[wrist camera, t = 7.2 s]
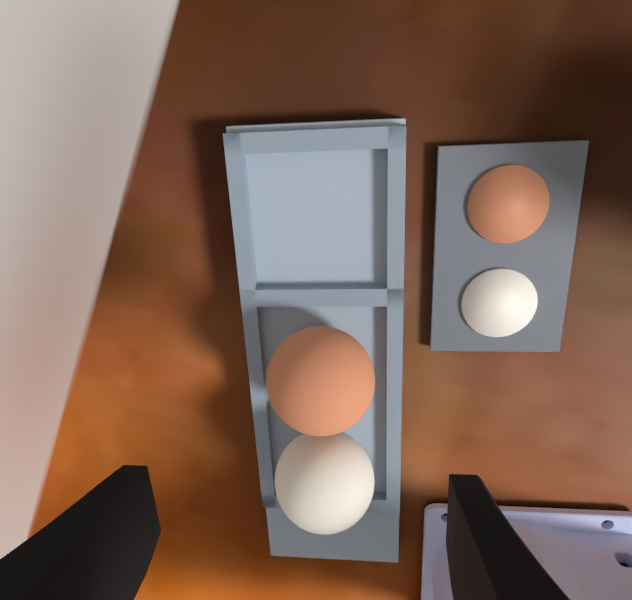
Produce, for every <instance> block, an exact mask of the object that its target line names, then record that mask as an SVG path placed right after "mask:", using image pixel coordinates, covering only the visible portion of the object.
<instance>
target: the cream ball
mask: <svg viewBox="0 0 632 600" xmlns="http://www.w3.org/2000/svg"><path fill="white" fill-rule="evenodd" d="M374 483H375V481H374V471H373V467H372V464H371V461H370V459H369V457H368V455H367V453H366V452H365V450H364V449H363V447H362V446H361V445H360V444H359V443H358V442H357V441H356V440H355V439H353V438H352V437H351V436H349V435H347V434H345V433H343V432H341V433H338V434H334V435H330V436H311V435H307V434H302V435H300V436H298V437H297V438H295V439H294V440H293V441H292V442H291V443H290V444H289V445H288V446H287V447H286V448H285V450H284V451H283V453H282V455H281V457H280V458H279V461H278V464H277V467H276V472H275V490H276V495H277V499H278V502H279V504H280V506H281V508H282V510H283V511H284V513H285V514H286V516H287V517H288V518H289V519H290V520H291V521H292V522H293V523H294V524H296V525H297V526H298V527H300V528H302V529H303V530H306V531H308V532H311V533H315V534H322V535H328V534H335V533H338V532H341V531H344V530H346V529H348V528H350V527H351V526H353V525H354V524H355V523H356V522H358V521H359V520H360V518H361V517H362V516H363V515H364V514H365V512H366V511H367V509H368V507H369V505H370V503H371V500H372V497H373V493H374Z"/></svg>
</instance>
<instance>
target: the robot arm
mask: <svg viewBox="0 0 632 600" xmlns="http://www.w3.org/2000/svg"><path fill="white" fill-rule="evenodd" d="M445 513H447V516H444V515H443V514H445ZM606 520H609V521H607V522H604V521H606ZM602 522H604V523H602ZM160 532H161V528H160V523H159V519H158V514H157V510H156V505H155V500H154V496H153V491H152V486H151V482H150V477H149V472H148V468H147V466H131V465H123V466H122V467H121V468H119V469H118V470H116V471H115V472H114V473H112V474H111V475H110V476H109V477H107V478H106V479H105V480H104V481H102V482H101V483H100V484H99V485H97V486H96V487H95V488H94V489H92V490H91V491H90V492H89V493H87V494H86V495H85V496H84V497H82V498H81V499H80V500H79V501H77V502H76V503H75V504H73V505H72V506H71V507H70V508H68V509H67V510H66V511H65V512H63V513H62V514H61V515H59V516H58V517H57V518H56V519H54V520H53V521H52V522H51V523H49V524H48V525H47V526H45V527H44V528H43V529H41V530H40V531H39V532H37V533H36V534H34V535H33V536H32V537H30V538H29V539H28V540H26V541H25V542H24V543H22V544H21V545H20V546H18V547H17V548H16V549H14V550H13V551H11V552H10V553H9V554H7V555H6V556H5V557H3V558H2V559H0V600H134V598H135V596H136V594H137V592H138V590H139V588H140V585H141V583H142V581H143V579H144V577H145V575H146V573H147V570H148V567H149V564H150V562H151V559H152V556H153V553H154V550H155V547H156V544H157V541H158V538H159V535H160ZM421 600H632V512H631V511H612V510H588V509H563V508H539V507H515V506H498V505H497V504H496V502H495V501H494V499H493V497H492V496H491V494H490V493H489V491H488V489H487V488H486V486H485V484H484V483H483V481H482V479H481V478H480V477H479V476H477V475H459V474H449V489H448V504H442V503H433V504H429V505H427V507H426V508H425V510H424V528H423V554H422V580H421Z"/></svg>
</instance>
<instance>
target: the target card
mask: <svg viewBox="0 0 632 600" xmlns="http://www.w3.org/2000/svg"><path fill="white" fill-rule="evenodd" d="M588 146H589V141H588V140H572V141H546V142H521V143H495V144H470V145H444V146H437V171H436V198H435V224H434V250H433V276H432V302H431V329H430V350H431V351H521V352H559V351H560V344H561V337H562V330H563V323H564V316H565V309H566V302H567V295H568V288H569V281H570V274H571V266H572V259H573V252H574V245H575V238H576V231H577V224H578V217H579V210H580V203H581V196H582V189H583V181H584V174H585V167H586V160H587V153H588Z"/></svg>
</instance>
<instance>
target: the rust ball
mask: <svg viewBox="0 0 632 600" xmlns="http://www.w3.org/2000/svg"><path fill="white" fill-rule="evenodd" d="M266 386H267V393H268V397H269V400H270V402H271V405H272V407H273V409H274V410H275V412H276V413H277V415H278V416H279V417H280V418H281V419H282V421H284V422H285V423H286V424H287V425H288V426H290V427H291V428H293V429H295V430H297V431H298V432H301V433H303V434H307V435H311V436H330V435H334V434H338V433H341V432H343V431H345V430H347V429H349V428H350V427H352V426H353V425H354V424H356V423H357V422H358V421H359V420H360V419H361V418H362V416H363V415H364V414H365V412H366V411H367V409H368V407H369V406H370V403H371V401H372V398H373V394H374V389H375V374H374V369H373V365H372V362H371V360H370V357H369V356H368V354H367V352H366V350H365V349H364V348H363V346H362V345H361V344H360V343H359V342H358V341H357V340H356V339H355V338H353V337H352V336H351V335H349V334H347V333H346V332H344V331H341V330H339V329H336V328H332V327H326V326H316V327H309V328H305V329H302V330H300V331H298V332H296V333H294V334H292V335H291V336H289V337H288V338H286V339H285V340H284V341H283V342H282V343H281V344H280V345H279V347H278V348H277V349H276V351H275V352H274V354H273V356H272V358H271V360H270V362H269V366H268V370H267V377H266Z"/></svg>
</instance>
